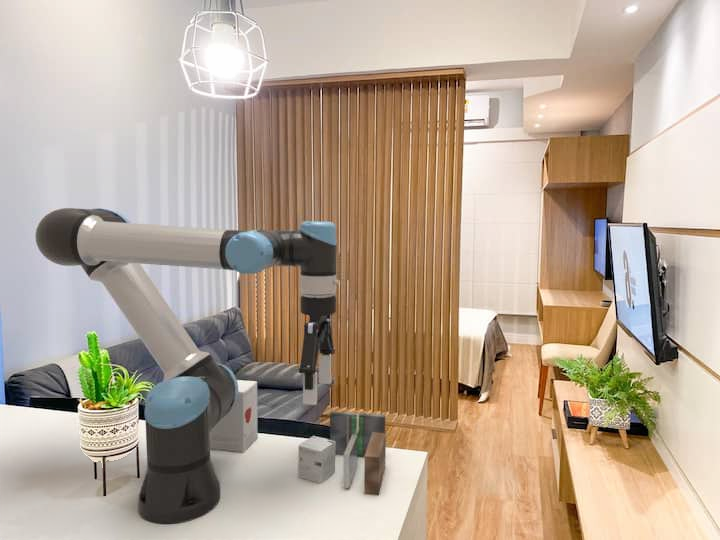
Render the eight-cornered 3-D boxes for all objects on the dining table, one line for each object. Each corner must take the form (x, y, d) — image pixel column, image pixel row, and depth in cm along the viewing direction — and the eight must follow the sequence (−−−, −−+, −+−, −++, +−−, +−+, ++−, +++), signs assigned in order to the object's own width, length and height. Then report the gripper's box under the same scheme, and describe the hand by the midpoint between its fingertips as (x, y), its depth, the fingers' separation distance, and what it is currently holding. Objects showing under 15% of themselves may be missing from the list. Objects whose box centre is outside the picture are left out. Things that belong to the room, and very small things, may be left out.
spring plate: (343, 487, 106) (343, 440, 106) (355, 454, 121) (355, 413, 120) (349, 487, 106) (349, 440, 105) (360, 455, 121) (360, 413, 120)
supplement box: (243, 453, 123) (243, 392, 121) (209, 449, 124) (207, 389, 123) (258, 437, 132) (258, 380, 130) (226, 434, 133) (225, 378, 132)
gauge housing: (313, 489, 106) (312, 442, 106) (331, 451, 124) (331, 411, 123) (378, 495, 104) (379, 447, 103) (387, 456, 122) (388, 415, 121)
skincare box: (297, 477, 111) (297, 444, 111) (313, 466, 117) (313, 434, 116) (321, 484, 108) (321, 451, 108) (336, 472, 114) (336, 440, 113)
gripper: (322, 304, 96) (321, 415, 98) (346, 287, 120) (345, 376, 122) (283, 303, 97) (283, 412, 99) (315, 286, 121) (315, 374, 124)
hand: (318, 393), depth 111 cm, fingers open, 13 cm apart
